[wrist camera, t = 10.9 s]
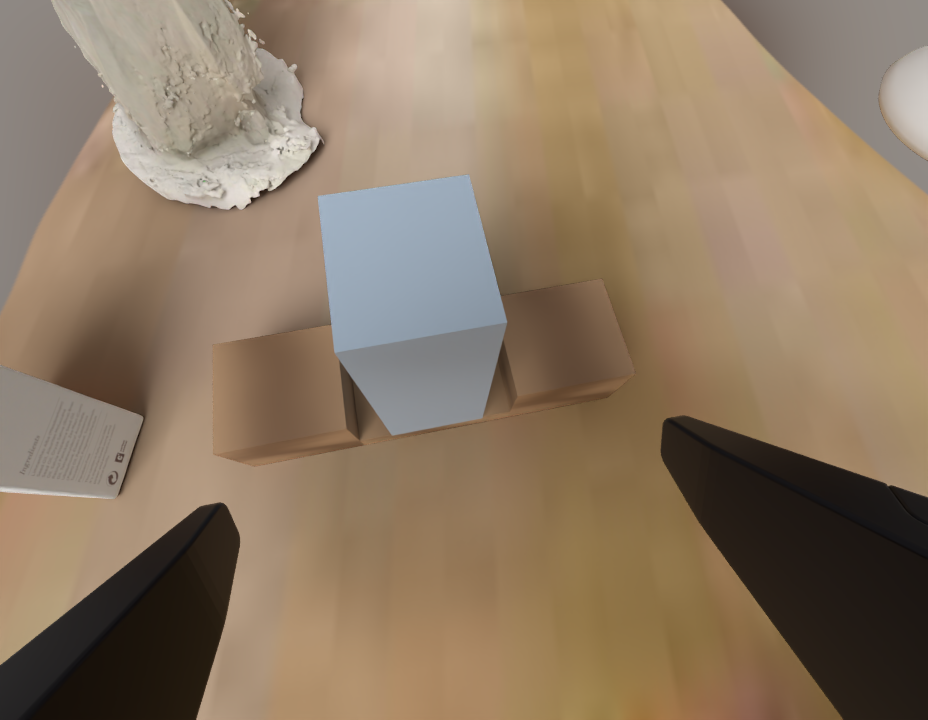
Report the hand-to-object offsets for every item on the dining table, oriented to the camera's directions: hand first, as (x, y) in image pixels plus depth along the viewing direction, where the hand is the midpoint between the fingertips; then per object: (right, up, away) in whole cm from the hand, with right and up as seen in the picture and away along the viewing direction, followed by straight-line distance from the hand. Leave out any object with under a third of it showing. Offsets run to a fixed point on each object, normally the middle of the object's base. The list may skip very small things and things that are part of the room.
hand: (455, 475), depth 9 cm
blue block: (-2, +1, +13) cm, 14 cm away
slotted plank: (-2, +1, +15) cm, 15 cm away
